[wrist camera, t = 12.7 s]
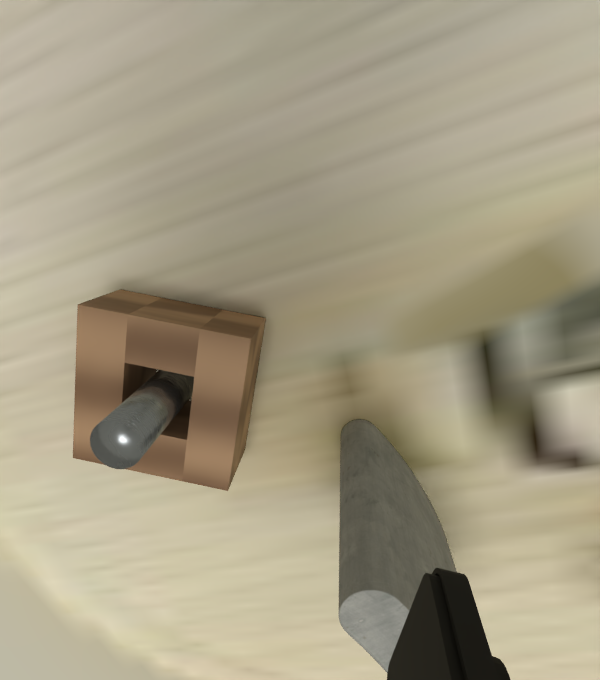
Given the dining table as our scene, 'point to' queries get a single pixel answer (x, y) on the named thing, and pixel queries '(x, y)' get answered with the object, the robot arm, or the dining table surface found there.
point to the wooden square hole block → (178, 357)
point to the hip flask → (382, 540)
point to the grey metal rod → (140, 419)
